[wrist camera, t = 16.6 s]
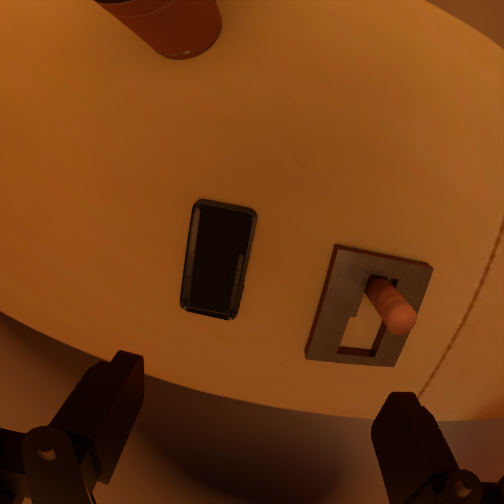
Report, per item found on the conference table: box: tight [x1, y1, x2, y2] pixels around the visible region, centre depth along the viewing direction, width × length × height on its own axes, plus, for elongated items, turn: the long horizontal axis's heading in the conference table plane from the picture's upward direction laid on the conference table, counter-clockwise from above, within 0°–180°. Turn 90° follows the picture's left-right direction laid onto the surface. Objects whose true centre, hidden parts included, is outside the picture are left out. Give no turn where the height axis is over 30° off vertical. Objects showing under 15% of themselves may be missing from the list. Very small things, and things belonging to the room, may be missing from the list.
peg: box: [364, 274, 417, 335], centre depth 35 cm, size 4×4×10 cm
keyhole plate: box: [305, 245, 434, 367], centre depth 40 cm, size 16×14×2 cm
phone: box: [180, 199, 257, 320], centre depth 40 cm, size 8×1×15 cm
